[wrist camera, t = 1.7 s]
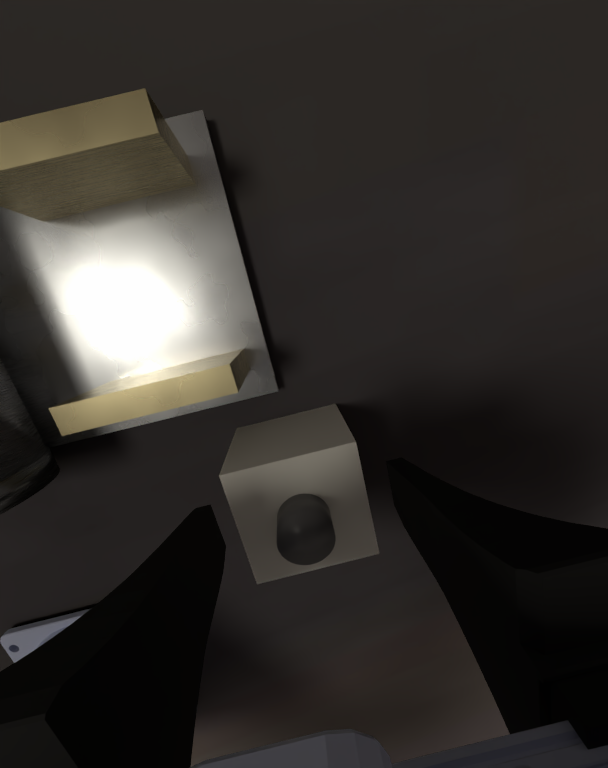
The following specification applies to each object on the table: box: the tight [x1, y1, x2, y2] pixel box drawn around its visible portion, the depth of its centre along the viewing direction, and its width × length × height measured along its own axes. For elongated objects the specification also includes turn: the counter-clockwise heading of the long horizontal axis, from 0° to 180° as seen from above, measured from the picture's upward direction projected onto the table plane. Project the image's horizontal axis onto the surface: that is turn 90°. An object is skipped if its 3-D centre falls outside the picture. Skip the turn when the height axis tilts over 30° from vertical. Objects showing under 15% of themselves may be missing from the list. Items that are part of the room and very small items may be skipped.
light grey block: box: [219, 404, 379, 584], centre depth 13 cm, size 5×5×6 cm
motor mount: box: [0, 88, 279, 514], centre depth 10 cm, size 13×15×6 cm
